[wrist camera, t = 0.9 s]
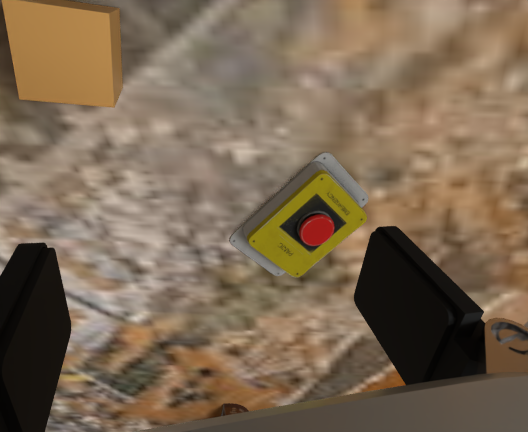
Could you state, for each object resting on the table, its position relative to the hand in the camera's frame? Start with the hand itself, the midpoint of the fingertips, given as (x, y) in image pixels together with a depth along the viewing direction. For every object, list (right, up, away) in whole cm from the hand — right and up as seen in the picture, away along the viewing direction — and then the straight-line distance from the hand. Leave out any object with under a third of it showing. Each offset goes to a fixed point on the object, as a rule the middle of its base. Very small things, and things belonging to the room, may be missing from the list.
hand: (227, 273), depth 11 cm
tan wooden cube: (-13, +15, +18) cm, 27 cm away
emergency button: (+5, +2, +32) cm, 33 cm away
